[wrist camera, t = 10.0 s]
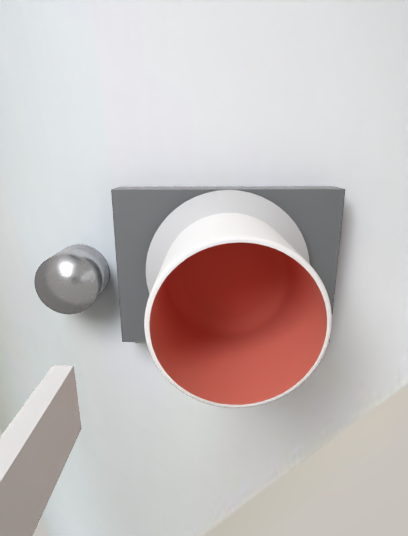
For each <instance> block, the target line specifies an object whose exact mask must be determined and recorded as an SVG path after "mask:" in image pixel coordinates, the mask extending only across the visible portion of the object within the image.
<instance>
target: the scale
mask: <svg viewBox="0 0 408 536" xmlns="http://www.w3.org/2000/svg"><path fill="white" fill-rule="evenodd" d="M111 192H112V206H113V220H114V233H115V247H116V261H117V275H118V289H119V302H120V316H121V330H122V342H135V343H147V342H146V337H145V329H144V318H145V310H146V305H147V301H148V298H149V295H150V293H151V290H152V288H153V286H154V283H155V281H156V278H157V276H158V274H159V271H160V269H161V267H162V264H163V262H164V259H165V257H166V255H167V252H168V250H169V248H170V247H171V245H172V243H173V242H174V240H175V239H176V238H177V237H178V235H179V234H180V233H181V232H182V231H183V230H184V229H186V228H187V227H188V226H190V225H191V224H193V223H194V222H196V221H198V220H200V219H202V218H204V217H207V216H210V215H214V214H220V213H239V214H245V215H249V216H252V217H255V218H257V219H259V220H261V221H263V222H265V223H266V224H268V225H269V226H271V227H272V228H273V229H274V230H275V231H277V232H278V233H279V234H280V235H281V236H282V237H283V238H284V239H285V240H286V241H287V242H288V243H289V244H290V245H291V246H292V247H293V248H294V249H295V250H296V251H297V252H298V253H299V254H300V255H301V256H302V257H303V258H304V259H305V260H306V261H307V262H308V263H309V264H310V265H311V267H312V268H313V269H314V270H315V271H316V273H317V274H318V276H319V277H320V279H321V281H322V282H323V284H324V286H325V289H326V291H327V294H328V297H329V300H330V305H331V312H333V302H334V292H335V283H336V273H337V264H338V254H339V244H340V235H341V225H342V216H343V206H344V196H345V189H342V188H337V187H118V188H115V189H112V190H111ZM329 340H330V339H329Z"/></svg>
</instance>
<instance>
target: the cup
mask: <svg viewBox="0 0 408 536" xmlns="http://www.w3.org/2000/svg"><path fill="white" fill-rule="evenodd" d="M331 327H332V312H331V305H330V300H329V297H328V294H327V291H326V289H325V286H324V284H323V282H322V281H321V279H320V277H319V276H318V274H317V273H316V271H315V270H314V269H313V268H312V267H311V265H310V264H309V263H308V262H307V261H306V260H305V259H304V258H303V257H302V256H301V255H300V254H299V253H298V252H297V251H296V250H295V249H294V248H293V247H292V246H291V245H290V244H289V243H288V242H287V241H286V240H285V239H284V238H283V237H282V236H281V235H280V234H279V233H278V232H277V231H275V230H274V229H273V228H272V227H271V226H269V225H268V224H266V223H265V222H263V221H261V220H259V219H257V218H255V217H252V216H249V215H245V214H239V213H220V214H214V215H210V216H207V217H204V218H202V219H200V220H198V221H196V222H194V223H193V224H191V225H190V226H188V227H187V228H186V229H184V230H183V231H182V232H181V233H180V234H179V235H178V237H177V238H176V239H175V240H174V242H173V243H172V245H171V247H170V248H169V250H168V252H167V255H166V257H165V259H164V262H163V264H162V267H161V269H160V271H159V274H158V276H157V278H156V281H155V283H154V286H153V288H152V290H151V293H150V295H149V298H148V301H147V305H146V310H145V318H144V329H145V337H146V342H147V346H148V349H149V352H150V354H151V357H152V359H153V361H154V363H155V364H156V366H157V368H158V369H159V370H160V372H161V373H162V374H163V375H164V377H165V378H166V379H167V380H168V381H169V382H170V383H171V384H172V385H174V386H175V387H176V388H178V389H179V390H180V391H181V392H183V393H185V394H186V395H188V396H190V397H192V398H194V399H196V400H198V401H201V402H204V403H206V404H210V405H214V406H220V407H227V408H244V407H252V406H258V405H262V404H266V403H269V402H271V401H274V400H277V399H279V398H281V397H283V396H285V395H286V394H288V393H290V392H291V391H293V390H294V389H296V388H297V387H298V386H300V385H301V384H302V383H303V382H304V381H305V380H306V379H307V378H308V377H309V376H310V375H311V374H312V373H313V371H314V370H315V369H316V367H317V366H318V364H319V363H320V361H321V359H322V358H323V355H324V353H325V351H326V349H327V346H328V343H329V339H330V334H331Z"/></svg>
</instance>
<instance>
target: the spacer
mask: <svg viewBox="0 0 408 536" xmlns="http://www.w3.org/2000/svg"><path fill="white" fill-rule="evenodd" d="M108 280H109V267H108V264H107V261H106V260H105V258H104V257H103V255H102V254H101V253H100V252H98V251H97V250H96V249H94V248H92V247H90V246H87V245H72V246H69V247H67V248H65V249H63V250H62V251H60V252H58V253H57V254H55V255H54V256H52V257H50V258H49V259H47V260H46V261H44V262H43V263H42V264H41V265H40V267H39V268H38V270H37V272H36V275H35V288H36V292H37V294H38V296H39V298H40V299H41V301H42V302H43V303H44V304H45V305H46V306H47V307H49V308H50V309H52V310H54V311H56V312H59V313H63V314H75V313H79V312H82V311H84V310H85V309H87V308H88V307H89V306H90V305H91V304H92V303H93V301H94V300H95V299H96V298H97V296H98V295H99V294H100V293H101V291H102V290H103V289H104V288H105V286H106V285H107V282H108Z"/></svg>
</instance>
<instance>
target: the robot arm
mask: <svg viewBox="0 0 408 536" xmlns="http://www.w3.org/2000/svg"><path fill="white" fill-rule="evenodd" d="M80 430H81V422H80V414H79V406H78V398H77V389H76V381H75V373H74V366H52V367H51V368H50V370H49V371H48V372H47V374H46V375H45V377H44V378H43V379H42V381H41V382H40V383H39V385H38V386H37V388H36V389H35V390H34V392H33V393H32V394H31V396H30V397H29V398H28V400H27V401H26V403H25V404H24V405H23V407H22V408H21V409H20V411H19V412H18V414H17V415H16V416H15V418H14V419H13V420H12V422H11V423H10V425H9V426H8V427H7V429H6V430H5V431H4V433H3V434H2V435H1V437H0V536H32V535H33V533H34V531H35V529H36V527H37V524H38V522H39V520H40V518H41V516H42V513H43V511H44V509H45V507H46V505H47V503H48V500H49V498H50V496H51V494H52V492H53V489H54V487H55V485H56V483H57V481H58V478H59V476H60V474H61V472H62V470H63V467H64V465H65V463H66V461H67V459H68V457H69V454H70V452H71V450H72V448H73V446H74V443H75V441H76V439H77V437H78V435H79V432H80Z"/></svg>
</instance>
